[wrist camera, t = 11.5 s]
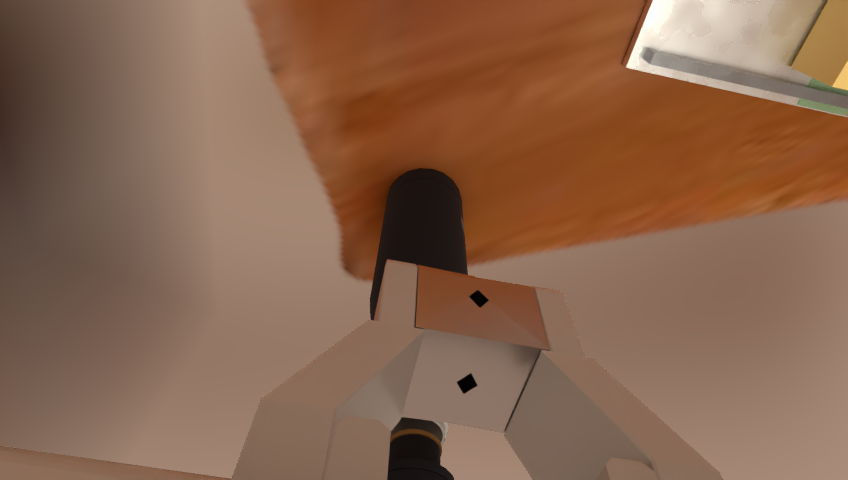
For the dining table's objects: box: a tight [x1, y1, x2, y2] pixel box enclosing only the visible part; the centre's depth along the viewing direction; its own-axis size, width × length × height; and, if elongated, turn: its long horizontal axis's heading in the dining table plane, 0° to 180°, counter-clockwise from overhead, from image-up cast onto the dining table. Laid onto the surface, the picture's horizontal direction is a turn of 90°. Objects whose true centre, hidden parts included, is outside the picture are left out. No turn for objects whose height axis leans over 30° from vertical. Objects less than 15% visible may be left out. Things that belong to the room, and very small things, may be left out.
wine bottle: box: [370, 169, 468, 480], centre depth 34 cm, size 6×6×30 cm
